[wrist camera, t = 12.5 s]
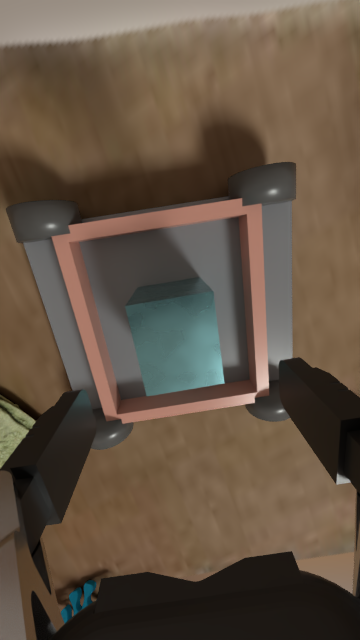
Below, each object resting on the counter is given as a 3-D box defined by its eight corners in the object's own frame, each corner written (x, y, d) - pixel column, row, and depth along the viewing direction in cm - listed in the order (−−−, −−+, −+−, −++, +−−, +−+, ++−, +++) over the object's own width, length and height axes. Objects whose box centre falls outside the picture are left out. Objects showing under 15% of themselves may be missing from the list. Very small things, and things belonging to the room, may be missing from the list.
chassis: (281, 176, 19) (315, 156, 14) (285, 386, 24) (309, 416, 20) (25, 216, 19) (-16, 208, 14) (90, 417, 24) (74, 453, 20)
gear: (119, 581, 30) (127, 709, 26) (140, 558, 35) (151, 661, 31) (46, 590, 32) (42, 709, 28) (76, 567, 37) (77, 664, 33)
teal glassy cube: (199, 276, 19) (213, 291, 13) (208, 345, 21) (224, 383, 15) (137, 287, 19) (125, 306, 13) (152, 354, 21) (146, 396, 15)
